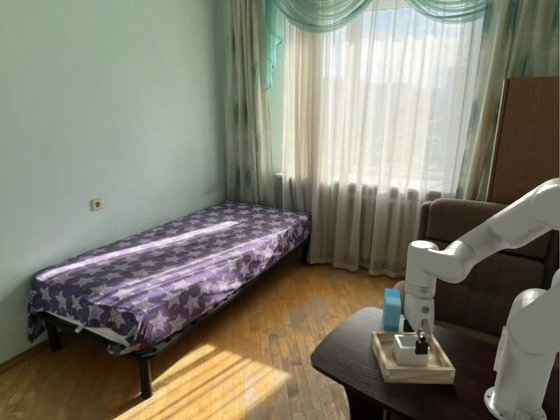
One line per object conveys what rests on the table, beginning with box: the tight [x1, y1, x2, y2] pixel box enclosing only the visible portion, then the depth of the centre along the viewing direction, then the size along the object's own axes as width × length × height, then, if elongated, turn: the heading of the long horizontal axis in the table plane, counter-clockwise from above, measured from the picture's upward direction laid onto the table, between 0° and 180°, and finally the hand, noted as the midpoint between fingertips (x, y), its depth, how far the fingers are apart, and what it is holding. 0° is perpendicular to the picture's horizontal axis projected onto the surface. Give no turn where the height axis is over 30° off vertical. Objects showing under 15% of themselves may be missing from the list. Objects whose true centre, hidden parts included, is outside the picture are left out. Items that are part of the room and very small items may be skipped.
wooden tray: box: [370, 330, 456, 385], centre depth 100 cm, size 16×18×4 cm
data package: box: [381, 287, 402, 332], centre depth 115 cm, size 12×4×12 cm, turn 165°
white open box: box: [392, 335, 430, 367], centre depth 100 cm, size 6×8×6 cm
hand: (414, 342), depth 98 cm, fingers open, 9 cm apart
